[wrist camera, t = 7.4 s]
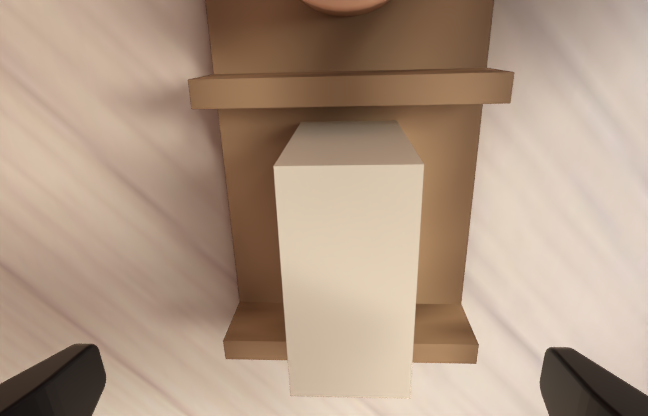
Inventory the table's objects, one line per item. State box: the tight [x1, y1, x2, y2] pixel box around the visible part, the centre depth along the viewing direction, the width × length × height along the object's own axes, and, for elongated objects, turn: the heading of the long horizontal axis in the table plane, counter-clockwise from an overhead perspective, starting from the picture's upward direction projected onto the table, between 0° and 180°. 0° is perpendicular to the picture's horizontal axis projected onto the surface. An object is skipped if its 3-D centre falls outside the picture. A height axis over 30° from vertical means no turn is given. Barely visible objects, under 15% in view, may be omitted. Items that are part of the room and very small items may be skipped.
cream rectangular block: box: [273, 120, 424, 399], centre depth 16 cm, size 4×8×7 cm, turn 2°
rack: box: [188, 0, 514, 364], centre depth 16 cm, size 11×23×4 cm, turn 1°
